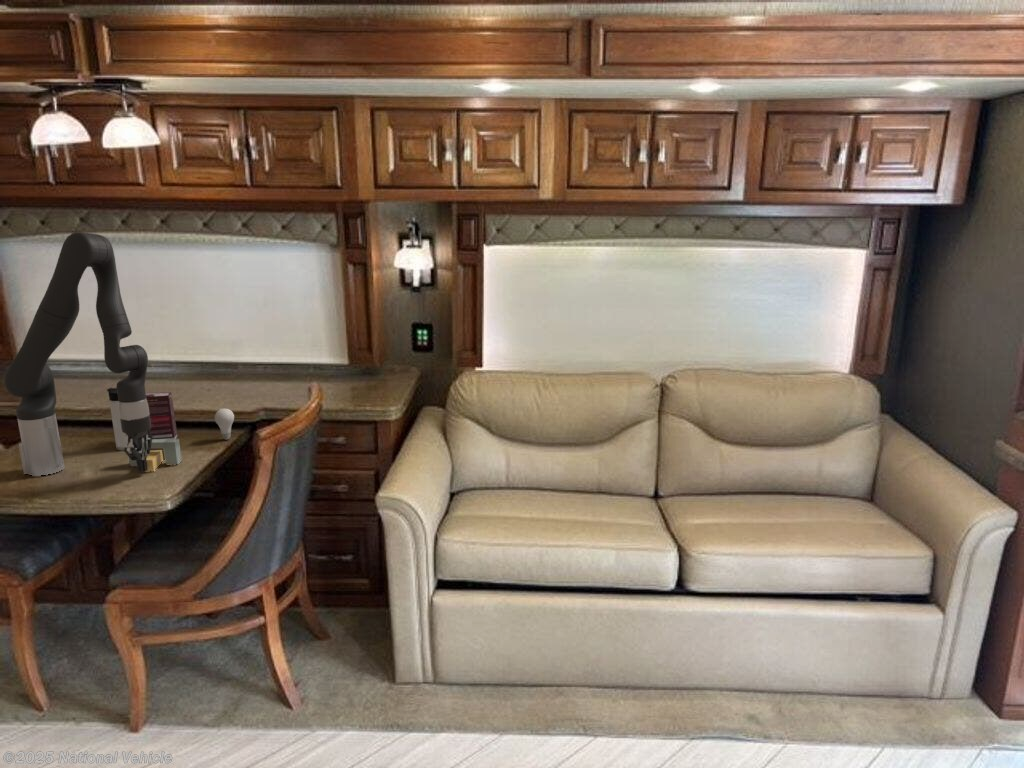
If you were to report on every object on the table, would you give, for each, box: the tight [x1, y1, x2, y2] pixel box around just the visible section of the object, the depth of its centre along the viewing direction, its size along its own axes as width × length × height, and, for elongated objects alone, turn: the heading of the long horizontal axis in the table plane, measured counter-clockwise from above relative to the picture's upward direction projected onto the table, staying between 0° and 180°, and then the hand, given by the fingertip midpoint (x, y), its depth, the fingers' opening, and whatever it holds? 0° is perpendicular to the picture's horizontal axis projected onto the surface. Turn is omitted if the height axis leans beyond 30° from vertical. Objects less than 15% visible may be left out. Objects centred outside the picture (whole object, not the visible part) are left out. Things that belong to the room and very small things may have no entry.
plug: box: [145, 448, 166, 473], centre depth 208 cm, size 5×14×5 cm, turn 10°
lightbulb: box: [214, 408, 235, 441], centre depth 229 cm, size 6×6×11 cm
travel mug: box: [106, 387, 128, 452], centre depth 220 cm, size 6×7×20 cm
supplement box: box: [146, 391, 178, 439], centre depth 229 cm, size 9×5×16 cm, turn 105°
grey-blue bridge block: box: [127, 438, 182, 467], centre depth 207 cm, size 14×3×8 cm, turn 94°
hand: (142, 471), depth 199 cm, fingers closed
